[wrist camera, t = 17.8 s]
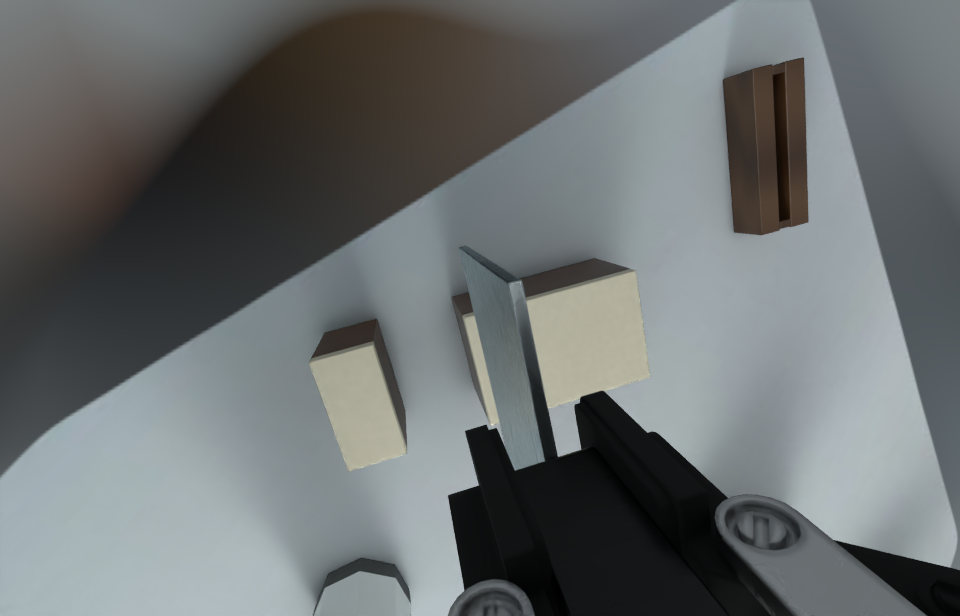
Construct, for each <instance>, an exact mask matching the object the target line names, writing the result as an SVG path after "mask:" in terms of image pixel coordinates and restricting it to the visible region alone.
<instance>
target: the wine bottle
mask: <svg viewBox="0 0 960 616" xmlns="http://www.w3.org/2000/svg"><path fill="white" fill-rule="evenodd" d="M313 616H411V600H410V592H409V588H408V587H407V585H406V583H405V582H404V580H403V578H402V577H401V575H400V573H399V571H398V570H397V568H396V566H395V565H393V564H388V563H384V562H379V561H374V560H369V559H364V558H360V559H358V560H356V561H354V562H352V563H350V564H348V565H346V566H344V567H341V568H339V569H337V570H335V571H333V572H331V573H329V574H328V576H327V579H326V581H325V584H324V586H323V589H322V591H321V594H320V596H319V599H318V601H317V604H316V607H315V610H314V614H313Z"/></svg>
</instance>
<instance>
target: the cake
mask: <svg viewBox="0 0 960 616" xmlns="http://www.w3.org/2000/svg"><path fill="white" fill-rule="evenodd" d="M520 279H521V280H522V282H523V287H524V292H525V297H526V302H527V307H528V312H529V317H530V322H531V327H532V332H533V337H534V342H535V347H536V352H537V357H538V362H539V367H540V372H541V377H542V381H543V386H544V391H545V396H546V401H547V406H548V408H551V407H554V406H558V405H561V404H564V403H567V402H571V401H574V400H577V399H580V398H581V396H585V395H588V394H591V393H595V392H598V391H606V390H610V389H613V388H616V387H619V386H623V385H626V384H629V383H632V382H636V381H639V380H642V379H645V378H649V377H650V371H649V364H648V357H647V349H646V342H645V335H644V327H643V320H642V313H641V305H640V298H639V291H638V283H637V276H636V271H635V270H632V269H629V268H626V267H623V266H619V265H616V264H613V263H609V262H606V261H603V260H599V259H596V258H594V259H591V260H587V261H583V262H580V263H576V264H572V265H568V266H565V267H561V268H557V269H554V270H550V271H546V272H543V273H539V274H535V275H531V276H528V277H524V278H520ZM452 301H453V305H454V309H455V313H456V317H457V321H458V325H459V329H460V332H461V336H462V340H463V344H464V348H465V352H466V356H467V360H468V364H469V368H470V371H471V375H472V379H473V383H474V387H475V390H476V392H477V395H478V397H479V400H480V402H481V404H482V407H483V409H484V411H485V414H486V416H487V419H488V421H489V423H490V425H491V426H493V425H496V424H499V423H500V422H499V418H498V414H497V409H496V405H495V401H494V397H493V392H492V388H491V384H490V380H489V375H488V371H487V367H486V363H485V358H484V354H483V350H482V346H481V341H480V337H479V333H478V329H477V324H476V320H475V316H474V312H473V308H472V303H471V299H470V295H469V292H468V293H465V294H461V295H457V296H454V297H452Z"/></svg>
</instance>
